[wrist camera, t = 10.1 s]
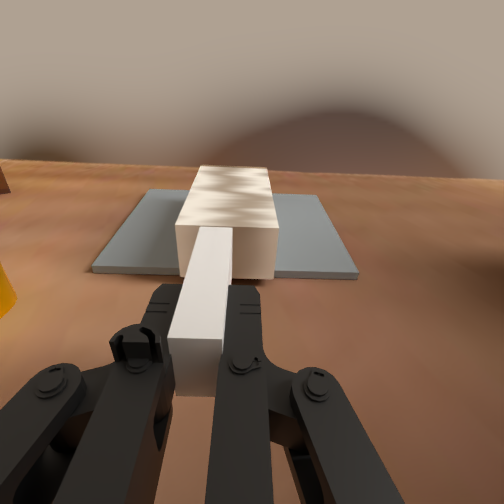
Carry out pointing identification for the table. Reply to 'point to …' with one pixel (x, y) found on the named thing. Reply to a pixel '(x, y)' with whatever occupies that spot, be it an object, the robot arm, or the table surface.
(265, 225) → the tall block
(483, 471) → the table surface
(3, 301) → the element tile
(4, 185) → the food container
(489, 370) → the table surface
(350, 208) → the table surface
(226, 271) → the robot arm
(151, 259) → the mat
